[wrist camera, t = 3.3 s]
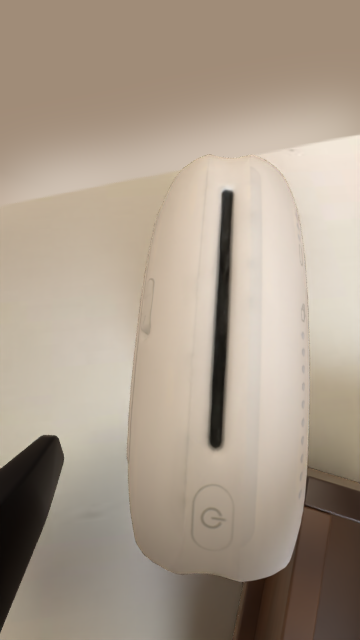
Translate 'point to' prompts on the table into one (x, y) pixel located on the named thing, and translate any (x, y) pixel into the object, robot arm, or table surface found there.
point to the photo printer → (221, 375)
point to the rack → (312, 572)
